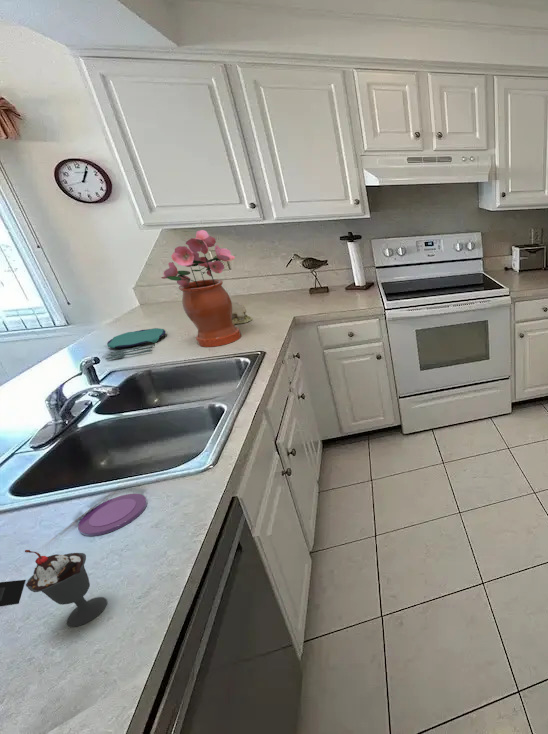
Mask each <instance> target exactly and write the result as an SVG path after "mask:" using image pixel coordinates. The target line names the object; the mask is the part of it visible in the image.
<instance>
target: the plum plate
mask: <svg viewBox="0 0 548 734" xmlns="http://www.w3.org/2000/svg"><path fill="white" fill-rule="evenodd" d="M147 505H148V499H147V498H146V497H145V495H144V494H140V493H128V494H123V495H120V496H116V497H112V498H110V499H108V500H106V501H104V502H102V503H100V504H99V505H97V506H95V507H93V508H92V509H91V510H89V511H88V512H87V513H86V514H84V516H83V517H81V519H80V520H79V522H78V525H77V529H78V531H79V533H80V534H81V535H83V536H86V537H98V536H102V535H106V534H109V533H112V532H115V531H117V530H120V529H121V528H124V527H125V526H127V525H128V524H130V523H132V522H133V521H134V520H135V519H137V518H138V517H140V515H142V513H143V512H144V511H145V510H146V509H147Z"/></svg>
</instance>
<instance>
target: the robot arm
mask: <svg viewBox="0 0 548 734" xmlns="http://www.w3.org/2000/svg"><path fill="white" fill-rule="evenodd" d="M26 581H27V579H19V580H9V581H0V608H1V607H7V606H13V605H19V604H20V601H21V597H22V595H23V591H24V588H25V585H26Z"/></svg>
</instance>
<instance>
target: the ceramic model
mask: <svg viewBox="0 0 548 734" xmlns="http://www.w3.org/2000/svg"><path fill="white" fill-rule="evenodd" d="M232 308H233V310H232V322H233V324H234V325H238V324H239V325H240V324H244V323H245V324H246V323H249V322H251V321H253V318H252V317H251V316H250V315H248V314H247V309H246V306H245V305H243V304H241V303H239V302H238V301H234V302H232Z"/></svg>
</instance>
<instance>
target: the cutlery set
mask: <svg viewBox="0 0 548 734" xmlns="http://www.w3.org/2000/svg"><path fill="white" fill-rule="evenodd" d="M165 334H166V330H165V328H160V327H159V328H158V327H154V328H147V329H140V330H136V331H128V332H127V331H126V332H124V333H121V334H119V335H115V336H113V337H112V338H111V339H110V340H108V341H107V343H106V346H107V347H108V348H110V349H117V348H124V349H120V350H113V351H110V352H109V353H107V355H106V356H107V357H105V358H104V360H107V361H108V360H113V359H119V358H124V357H126V356H133V355H140V354H145V353H151V352H152V349H154V347H156V345H155V344H157V342H158V341H159V339H160V338H162V337H163V336H165ZM147 343H152V344H150V345H144V346H140V345H143V344H147ZM138 345H139V346H138ZM134 346H136V347H134ZM127 347H131V348H127Z"/></svg>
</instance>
